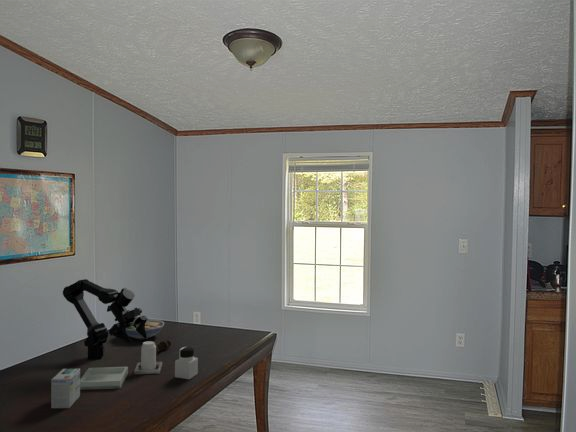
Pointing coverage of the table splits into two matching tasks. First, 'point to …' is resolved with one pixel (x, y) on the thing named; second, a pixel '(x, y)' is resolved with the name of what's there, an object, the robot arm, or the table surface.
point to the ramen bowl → (146, 329)
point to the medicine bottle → (186, 364)
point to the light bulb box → (65, 388)
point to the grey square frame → (148, 370)
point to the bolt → (162, 346)
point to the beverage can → (148, 356)
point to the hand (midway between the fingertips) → (138, 340)
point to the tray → (103, 378)
